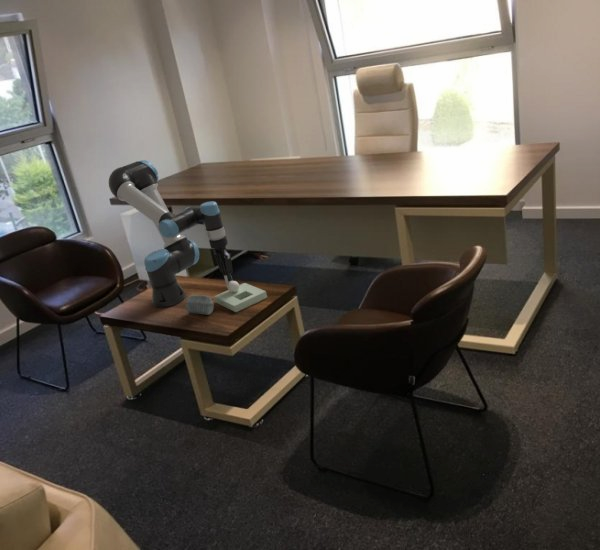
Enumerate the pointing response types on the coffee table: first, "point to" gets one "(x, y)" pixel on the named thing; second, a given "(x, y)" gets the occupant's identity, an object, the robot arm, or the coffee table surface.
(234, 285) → the ball
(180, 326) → the coffee table surface
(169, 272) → the robot arm
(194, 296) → the grey streaked egg
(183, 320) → the coffee table surface
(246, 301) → the green board
